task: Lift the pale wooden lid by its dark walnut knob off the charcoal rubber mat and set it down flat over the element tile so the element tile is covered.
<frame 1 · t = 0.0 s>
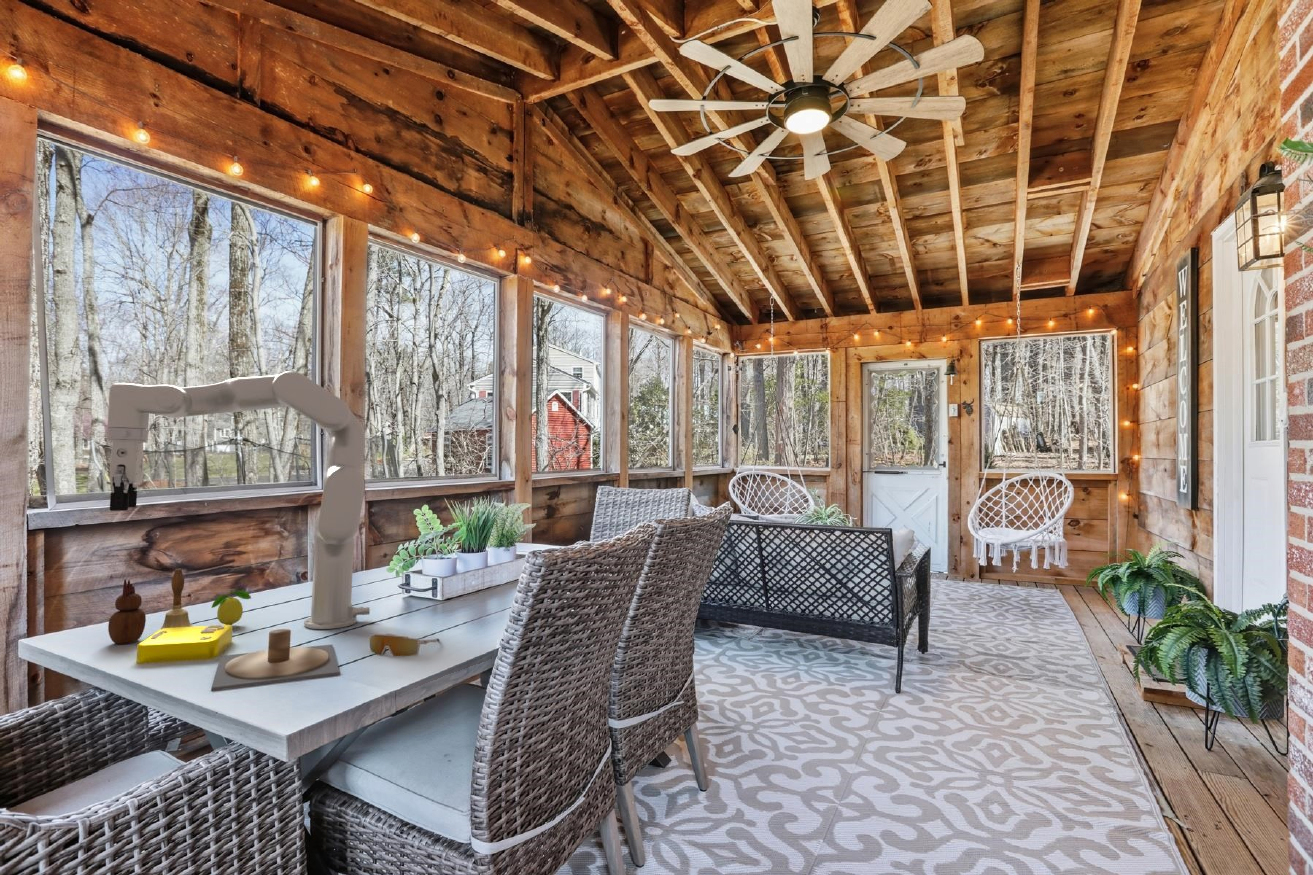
hand: (123, 508, 153), 31 cm above the table, tool pointing down, fingers open, 9 cm apart
lemon: (229, 627, 169), on the table
hand bell: (176, 634, 161), on the table
mat: (278, 666, 139), on the table
element tile: (186, 654, 147), on the table
lid: (278, 663, 139), point 1 cm above the table, touching mat
wooden figurine: (126, 642, 153), on the table
sunglasses: (404, 649, 155), on the table
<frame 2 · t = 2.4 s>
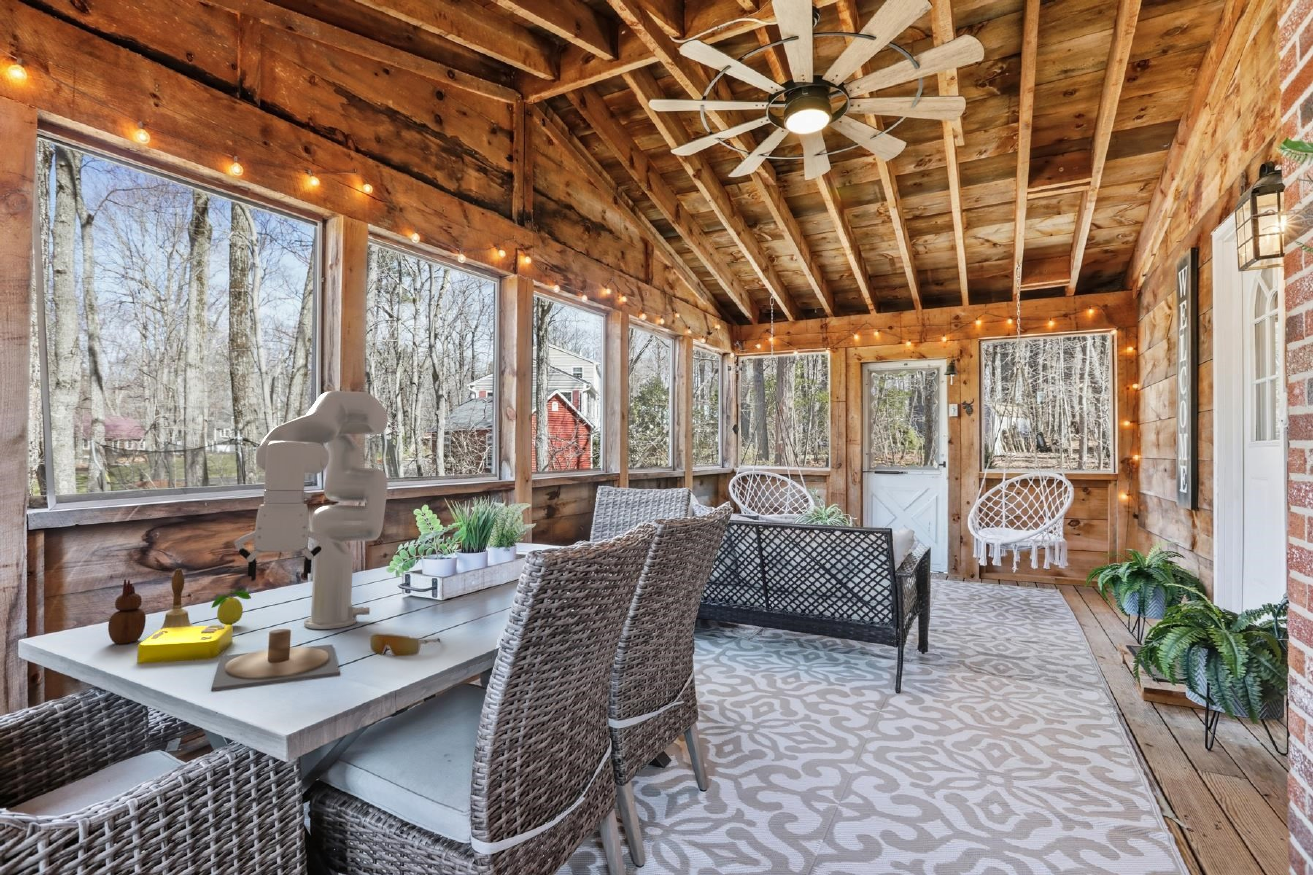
hand: (279, 578, 139), 19 cm above the table, tool pointing down, fingers open, 9 cm apart
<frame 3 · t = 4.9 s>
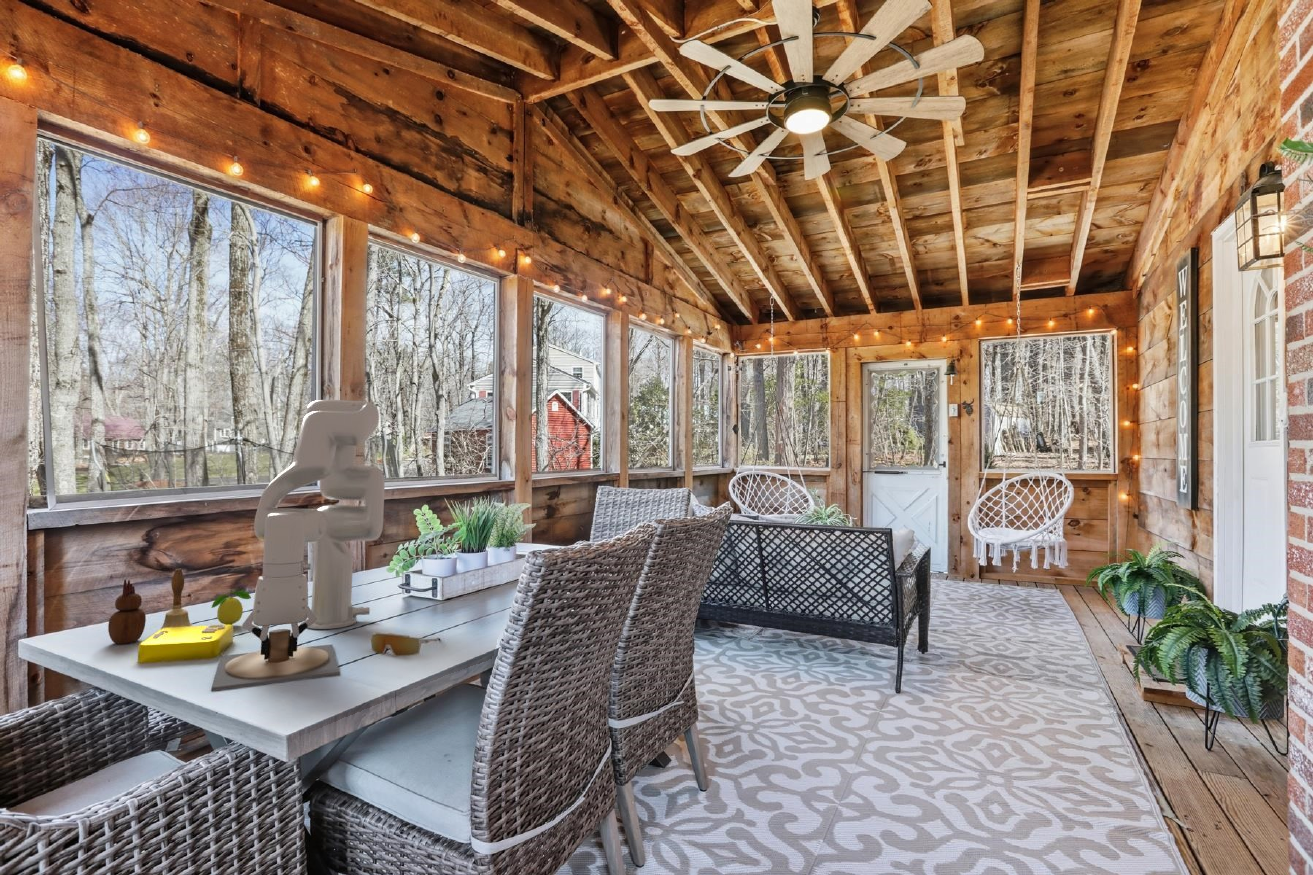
hand: (278, 655, 139), 2 cm above the table, tool pointing down, fingers closed on lid, 4 cm apart
lid: (278, 663, 139), point 1 cm above the table, touching gripper, mat
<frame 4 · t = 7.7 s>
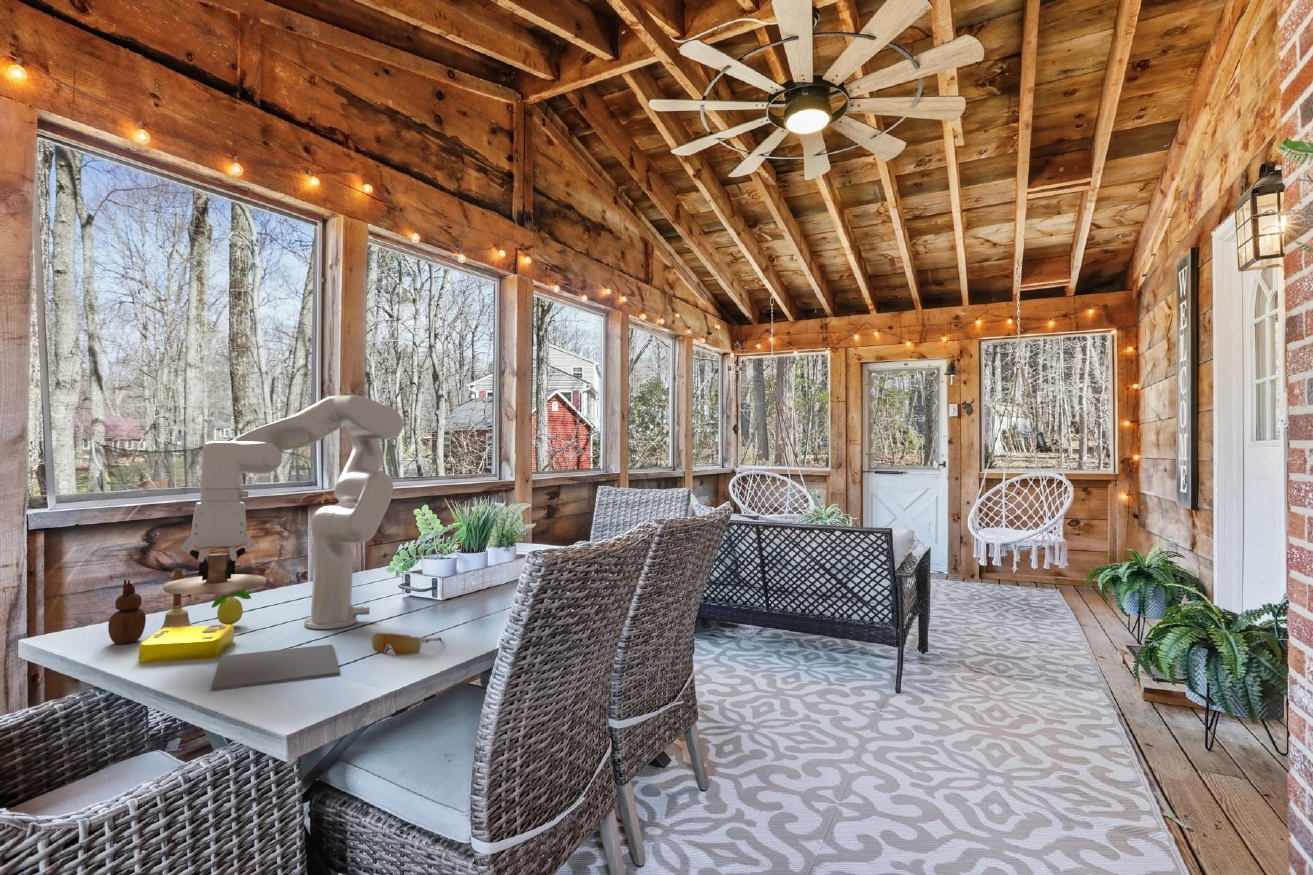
hand: (216, 577, 145), 17 cm above the table, tool pointing down, fingers closed on lid, 4 cm apart
lid: (216, 585, 145), point 16 cm above the table, touching gripper
when the fingers open (8 cm above the table, at t = 10.7 s): lid drops 2 cm, resting on element tile.
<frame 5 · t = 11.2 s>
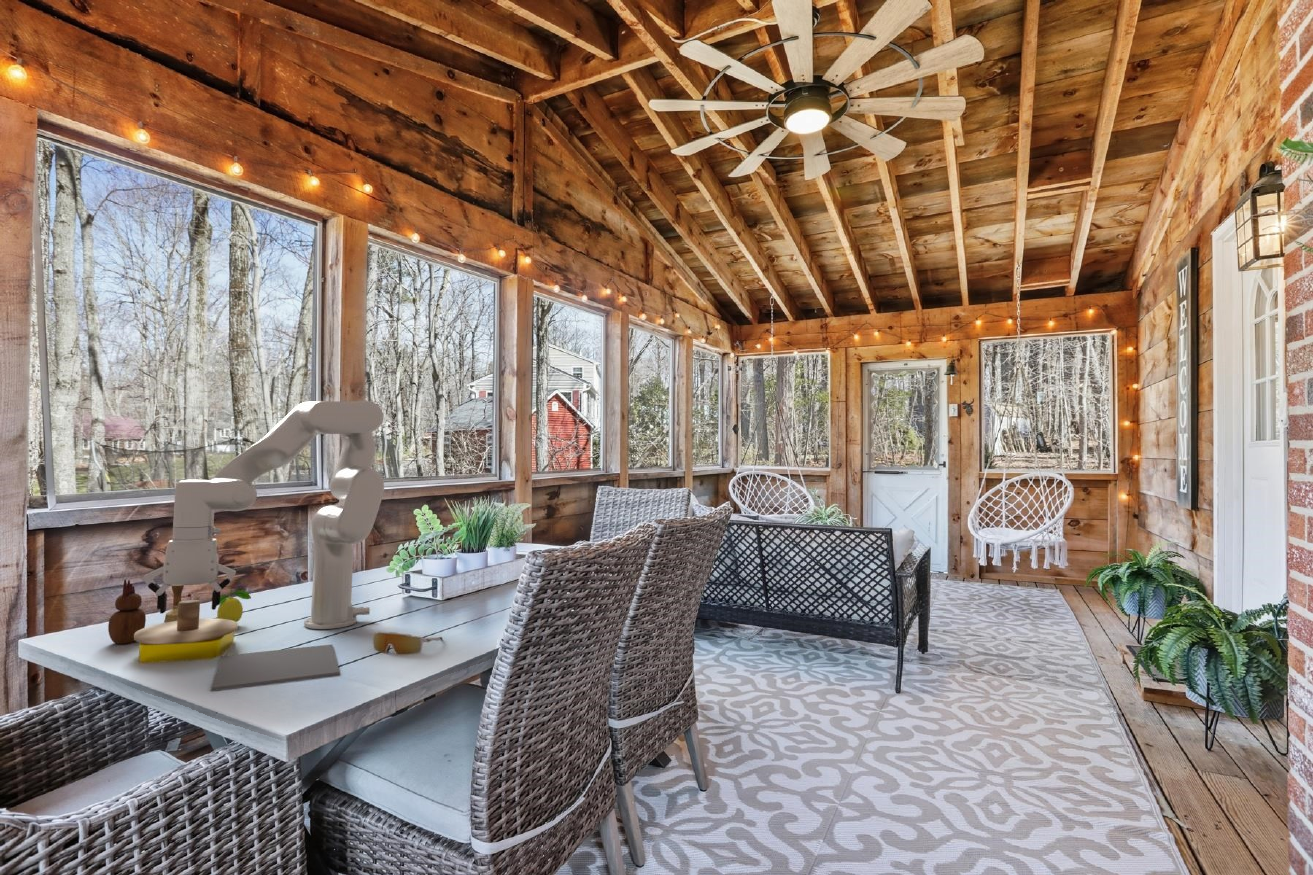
hand: (188, 610, 147), 9 cm above the table, tool pointing down, fingers open, 9 cm apart
element tile: (188, 653, 148), on the table, touching lid
lid: (187, 632, 147), point 4 cm above the table, touching element tile
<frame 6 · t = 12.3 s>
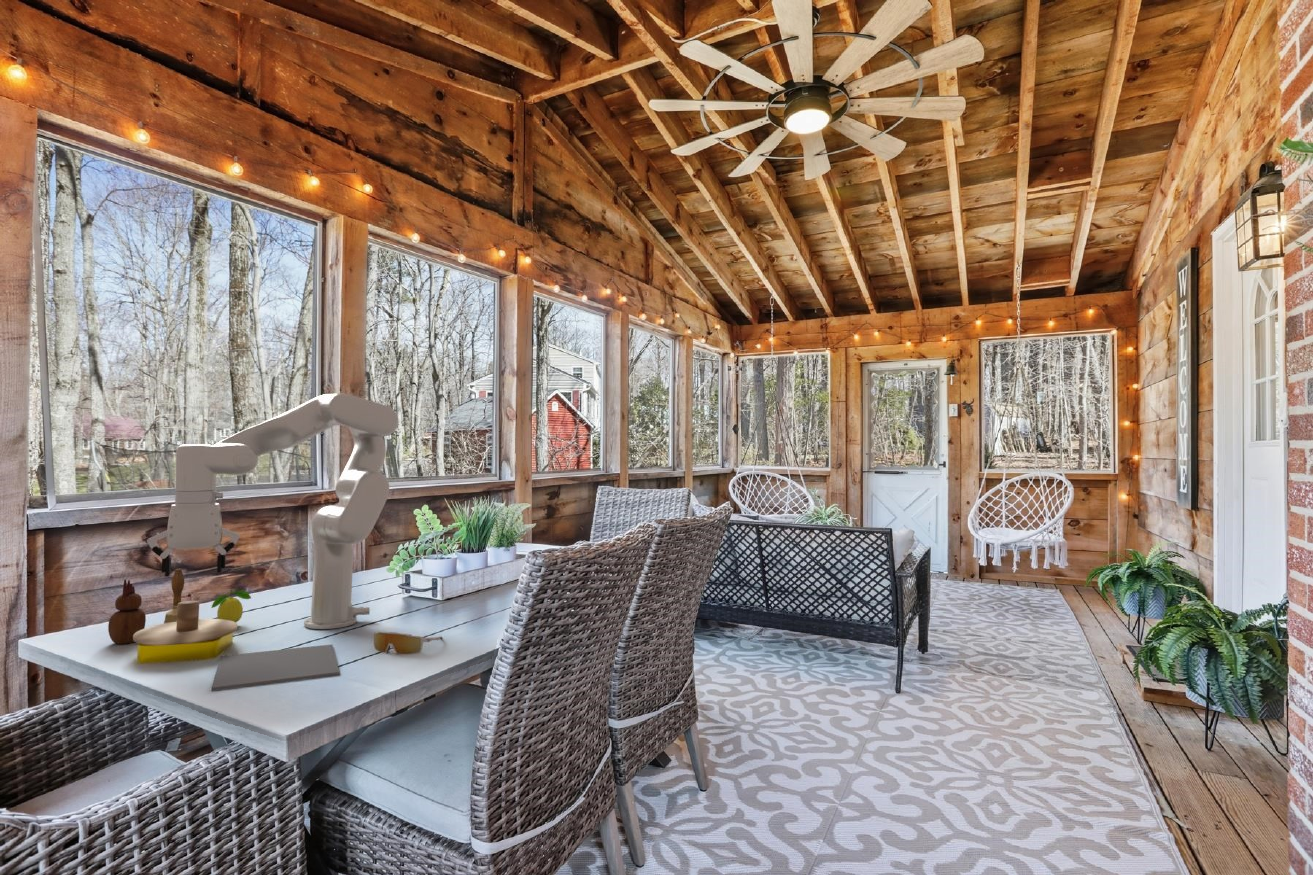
hand: (194, 573, 148), 17 cm above the table, tool pointing down, fingers open, 9 cm apart
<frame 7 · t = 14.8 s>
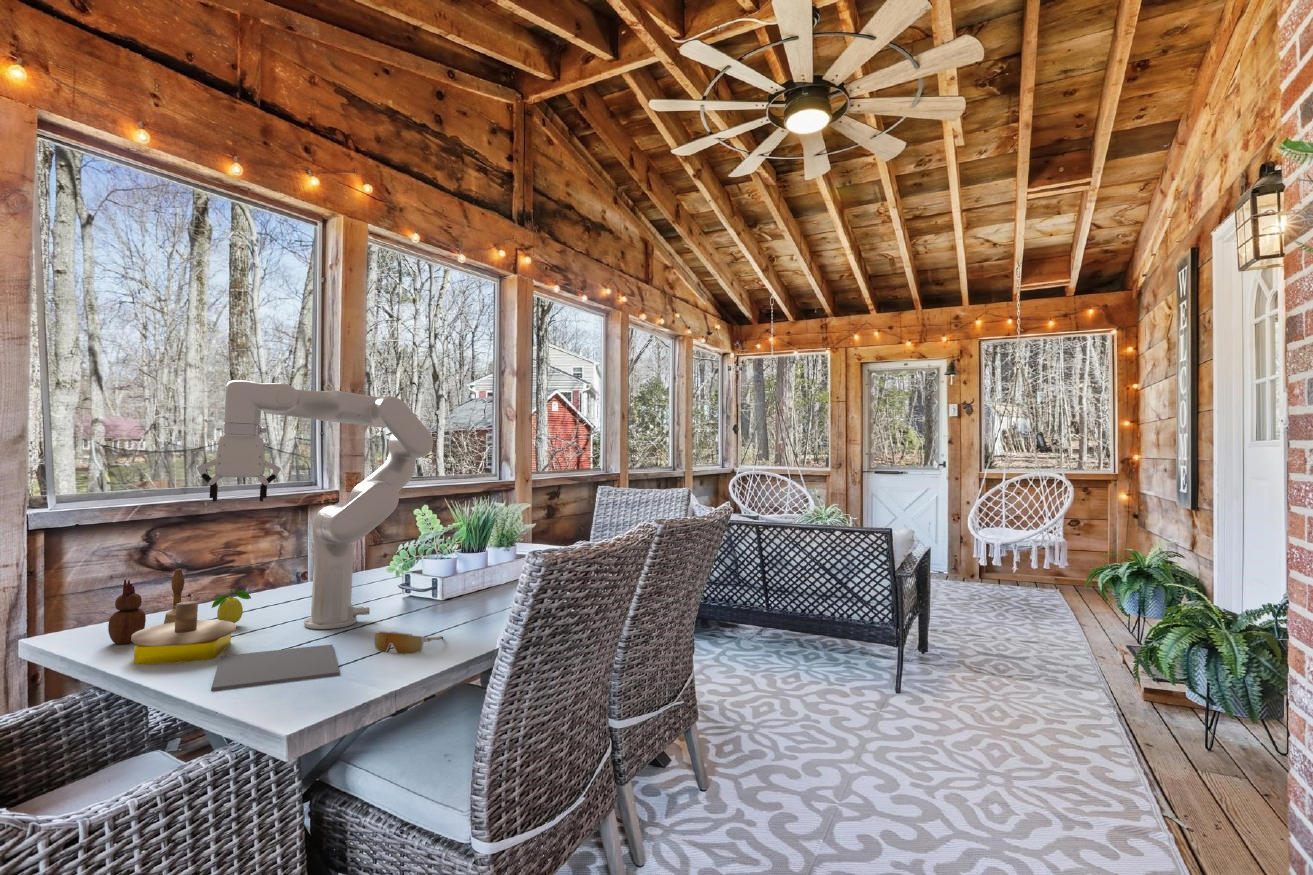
hand: (238, 501, 159), 33 cm above the table, tool pointing down, fingers open, 9 cm apart
at the end: lid 0.7 cm off-centre on the element tile, point 5.0 cm above the element tile's base; lid tilted 0°; the gripper is holding nothing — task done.
